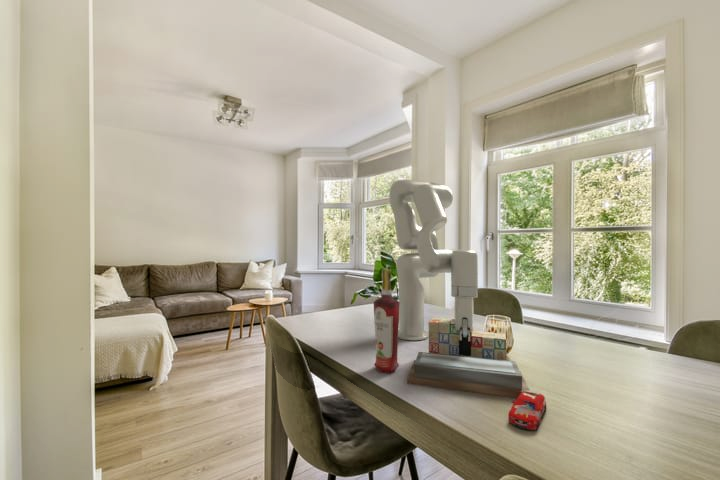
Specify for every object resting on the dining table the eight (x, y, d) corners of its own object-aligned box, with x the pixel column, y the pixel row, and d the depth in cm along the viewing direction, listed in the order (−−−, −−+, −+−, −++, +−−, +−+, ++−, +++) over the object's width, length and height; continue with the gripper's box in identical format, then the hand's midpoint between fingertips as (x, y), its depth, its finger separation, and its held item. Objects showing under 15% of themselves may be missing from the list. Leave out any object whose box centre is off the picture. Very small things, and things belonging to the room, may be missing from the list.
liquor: (368, 370, 90) (368, 269, 90) (382, 362, 96) (382, 268, 96) (390, 377, 85) (390, 271, 86) (404, 368, 91) (404, 269, 91)
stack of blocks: (506, 365, 94) (506, 323, 94) (506, 373, 88) (506, 328, 88) (432, 355, 102) (432, 316, 103) (428, 362, 97) (428, 320, 97)
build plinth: (414, 365, 94) (414, 349, 94) (520, 376, 85) (520, 359, 85) (407, 383, 81) (407, 365, 81) (530, 399, 73) (530, 378, 73)
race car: (535, 437, 59) (535, 415, 59) (504, 426, 63) (504, 405, 63) (550, 408, 69) (550, 390, 69) (522, 400, 73) (522, 383, 73)
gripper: (451, 287, 105) (452, 340, 105) (450, 295, 89) (450, 358, 88) (476, 288, 103) (476, 342, 103) (479, 296, 87) (480, 361, 86)
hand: (464, 349), depth 96 cm, fingers open, 8 cm apart
